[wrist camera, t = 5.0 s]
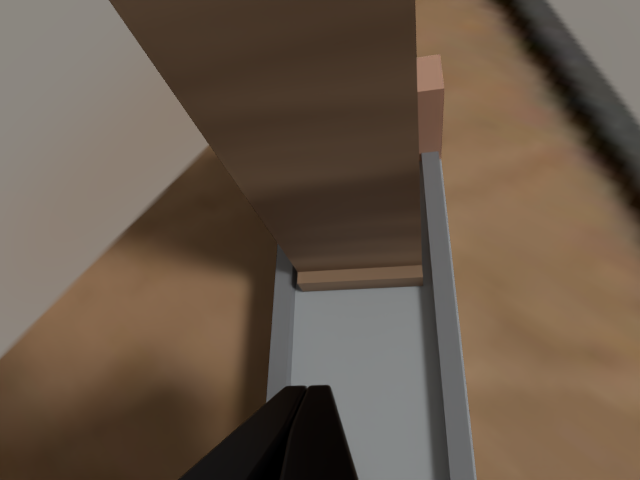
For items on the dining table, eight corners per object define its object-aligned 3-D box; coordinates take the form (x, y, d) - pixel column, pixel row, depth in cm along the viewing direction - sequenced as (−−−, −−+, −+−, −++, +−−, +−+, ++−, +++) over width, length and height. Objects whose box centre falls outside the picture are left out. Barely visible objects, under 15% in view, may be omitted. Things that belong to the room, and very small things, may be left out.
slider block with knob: (423, 286, 15) (412, -171, 4) (303, 291, 15) (29, -76, 5) (413, 162, 17) (390, -351, 6) (308, 173, 17) (125, -264, 7)
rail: (477, 524, 13) (503, 558, 8) (273, 514, 14) (204, 538, 10) (437, 147, 18) (439, 54, 14) (294, 163, 19) (256, 81, 15)
